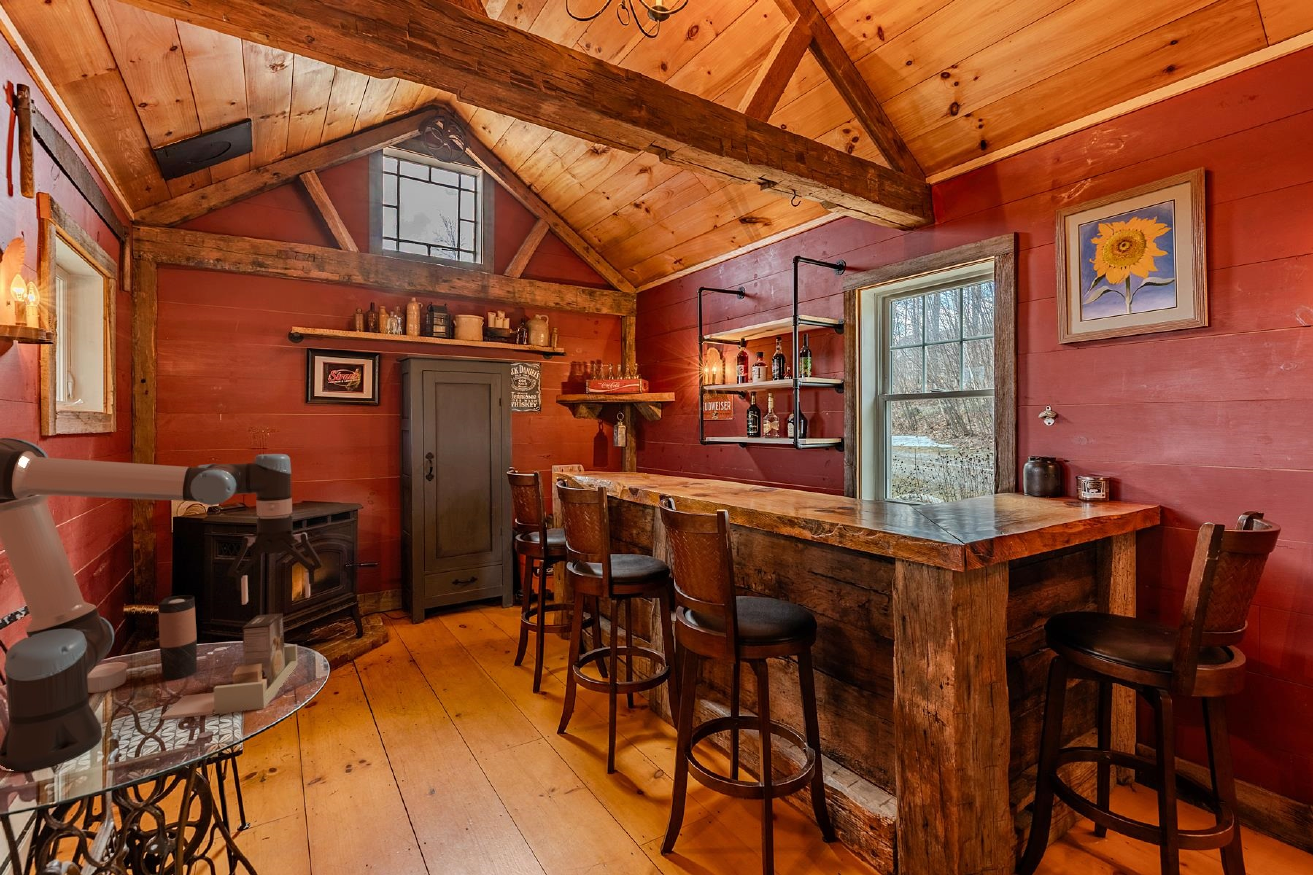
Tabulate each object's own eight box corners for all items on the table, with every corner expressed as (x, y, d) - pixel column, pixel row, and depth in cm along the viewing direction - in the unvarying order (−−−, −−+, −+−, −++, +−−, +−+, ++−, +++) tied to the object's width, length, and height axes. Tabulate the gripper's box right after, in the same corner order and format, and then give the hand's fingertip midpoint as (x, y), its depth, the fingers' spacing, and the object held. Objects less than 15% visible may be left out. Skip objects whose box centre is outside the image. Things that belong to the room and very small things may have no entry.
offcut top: (233, 691, 143) (232, 674, 143) (237, 683, 147) (237, 667, 147) (258, 687, 145) (257, 671, 145) (262, 679, 149) (261, 663, 149)
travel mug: (203, 672, 162) (200, 597, 161) (168, 683, 156) (164, 606, 155) (190, 665, 166) (187, 593, 165) (156, 676, 160) (152, 600, 159)
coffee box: (258, 674, 161) (256, 614, 160) (286, 672, 162) (283, 612, 161) (244, 690, 152) (241, 626, 151) (272, 687, 153) (270, 624, 152)
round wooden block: (131, 685, 155) (130, 668, 155) (84, 698, 148) (83, 680, 148) (124, 675, 161) (123, 659, 161) (78, 687, 154) (77, 670, 154)
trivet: (161, 719, 138) (161, 716, 138) (184, 698, 148) (183, 695, 148) (212, 714, 140) (212, 710, 140) (231, 694, 150) (231, 690, 150)
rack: (214, 713, 140) (213, 688, 140) (256, 669, 164) (255, 647, 163) (263, 708, 143) (262, 683, 142) (297, 665, 166) (296, 644, 166)
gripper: (210, 522, 145) (213, 610, 146) (329, 515, 155) (331, 597, 156) (218, 516, 152) (221, 601, 153) (332, 510, 161) (334, 589, 163)
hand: (277, 599), depth 154 cm, fingers open, 13 cm apart
